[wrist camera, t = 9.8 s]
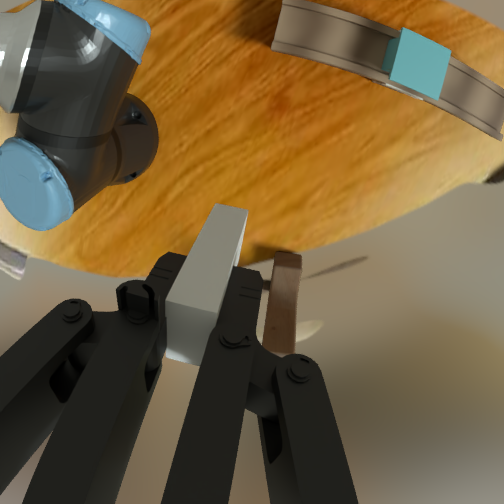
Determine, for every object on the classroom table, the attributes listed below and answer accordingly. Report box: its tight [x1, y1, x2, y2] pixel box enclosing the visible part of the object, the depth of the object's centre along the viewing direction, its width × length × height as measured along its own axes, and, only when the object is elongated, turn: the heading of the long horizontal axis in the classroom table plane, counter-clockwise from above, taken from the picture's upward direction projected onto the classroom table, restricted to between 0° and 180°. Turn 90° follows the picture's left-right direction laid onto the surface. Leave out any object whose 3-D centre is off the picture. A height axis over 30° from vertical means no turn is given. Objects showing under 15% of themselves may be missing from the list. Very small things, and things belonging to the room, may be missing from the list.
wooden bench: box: [271, 0, 504, 141], centre depth 31 cm, size 32×7×8 cm, turn 78°
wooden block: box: [262, 252, 302, 357], centre depth 48 cm, size 9×4×18 cm, turn 174°
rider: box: [381, 27, 451, 101], centre depth 26 cm, size 6×6×5 cm
